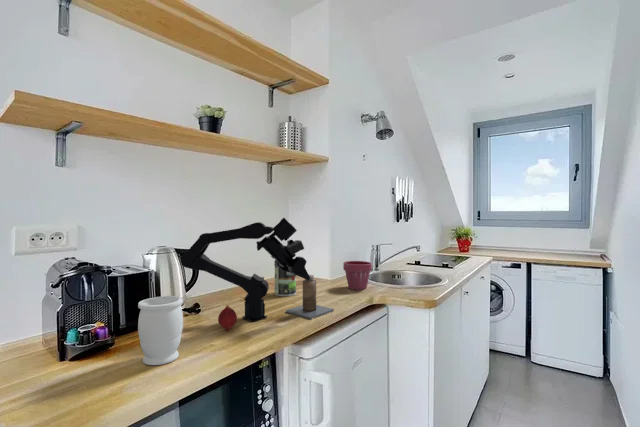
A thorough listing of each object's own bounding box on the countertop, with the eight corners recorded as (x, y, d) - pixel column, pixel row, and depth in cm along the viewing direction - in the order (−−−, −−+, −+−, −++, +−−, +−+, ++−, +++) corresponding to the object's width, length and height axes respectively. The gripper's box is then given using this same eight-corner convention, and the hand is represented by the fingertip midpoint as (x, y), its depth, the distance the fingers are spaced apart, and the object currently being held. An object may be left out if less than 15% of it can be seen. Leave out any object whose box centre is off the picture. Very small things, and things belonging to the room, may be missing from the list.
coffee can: (301, 293, 153) (300, 263, 153) (285, 297, 144) (285, 266, 145) (285, 290, 159) (284, 261, 159) (269, 294, 151) (269, 264, 151)
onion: (240, 328, 105) (240, 304, 105) (227, 334, 100) (227, 308, 100) (227, 325, 108) (227, 301, 108) (214, 331, 103) (214, 306, 103)
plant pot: (368, 284, 171) (368, 260, 171) (374, 290, 157) (374, 264, 157) (341, 285, 170) (341, 260, 170) (345, 291, 156) (345, 264, 156)
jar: (132, 358, 83) (132, 300, 83) (174, 347, 91) (173, 293, 91) (145, 372, 76) (145, 308, 76) (189, 358, 83) (189, 300, 83)
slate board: (311, 319, 114) (311, 317, 114) (285, 312, 122) (285, 310, 123) (333, 311, 124) (333, 309, 124) (309, 305, 132) (309, 303, 132)
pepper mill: (309, 312, 119) (309, 277, 120) (299, 309, 123) (299, 275, 123) (319, 309, 123) (319, 275, 123) (309, 306, 127) (309, 273, 127)
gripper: (301, 234, 112) (329, 264, 117) (281, 232, 128) (307, 258, 133) (279, 258, 108) (309, 288, 113) (262, 253, 124) (289, 279, 130)
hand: (304, 277), depth 122 cm, fingers open, 9 cm apart
